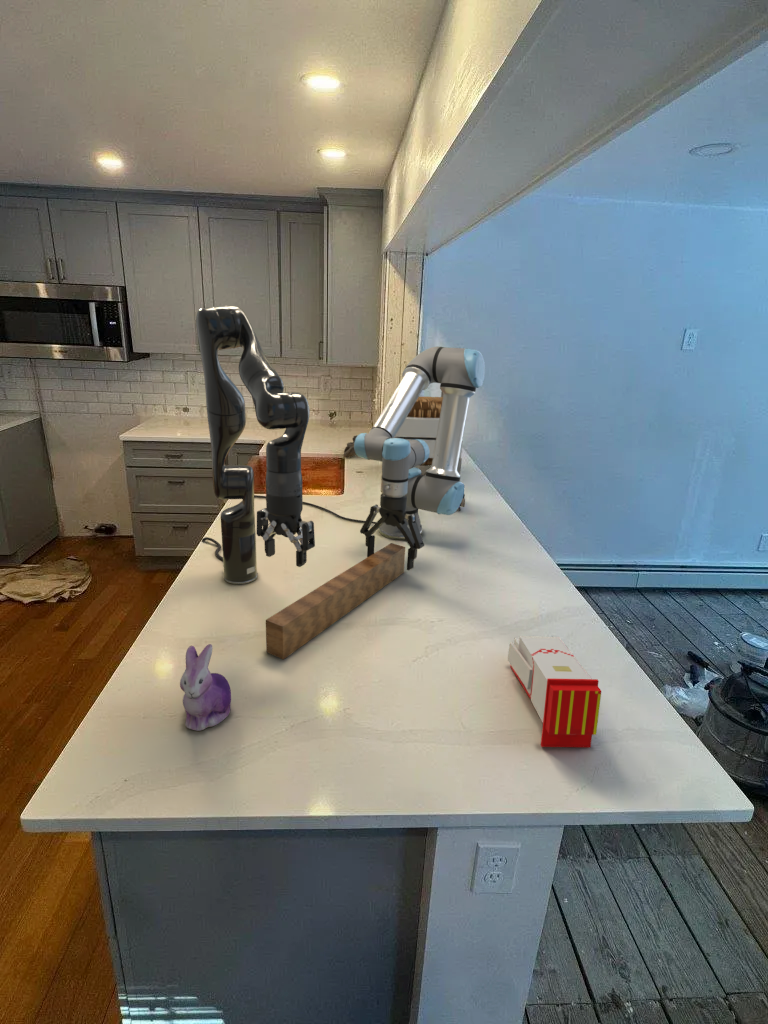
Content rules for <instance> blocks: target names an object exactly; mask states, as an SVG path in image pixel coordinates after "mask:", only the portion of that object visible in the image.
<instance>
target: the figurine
mask: <svg viewBox="0 0 768 1024" xmlns="http://www.w3.org/2000/svg"><path fill="white" fill-rule="evenodd" d="M213 649H214V648H213V645H212V644H211V643H208V644H206V646H204V648H203V649H202V651H201V652H200V653H199V655H198V651H197V650H196V647H195V646H194V645H190V646H188V647H187V648H186V652H185V659H184V660H185V669H184V672H183V673H182V675H181V678H180V681H179V687H180V690H181V691H182V692H183V693H184V694H183V697H182V705H183V708H184V711H185V714H186V718H185V722H184V723H185V727H186V728H187V729H189V730H194V731H198V732H199V731H204V730H205V729H207V728H213V727H215V726H217V725H219V724H220V723H221V722H222V721H224V720H225V719H227V717H229V715H230V712H231V705H232V689H231V686H230V683H229V681H228V679H227V678H226V677H225V676H224V675H222V674H221V673H219V672H218V673H217V672H212V673H211V671H210V669H209V665H210V662H211V658H212V654H213Z"/></svg>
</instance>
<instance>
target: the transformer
mask: <svg viewBox="0 0 768 1024" xmlns="http://www.w3.org/2000/svg"><path fill="white" fill-rule="evenodd" d="M397 387H398V385H397V386H396V388H397ZM440 393H441V394H440V396H419V397H418V399H417V400H416V402H415V404H414V405H413V407H412V409H411V411H410V412H409V414H408V416H407V417H406V419H405V421H404V422H403V424H402V426H401V428H400V429H399V431H398V433H397V434H396V436H395V438H401V439H406V440H408V441H411V440H413V439H420V440H423V441H424V442H426V443H427V445H428V447H429V451H430V454H429V457H428V459H427V460H426V461H425V462H424V463H422V464H421V465H419V466H418V467H431V466H432V460H433V454H434V448H435V442H436V436H437V430H438V424H439V418H440V412H441V406H442V400H443V392H442V391H441V392H440ZM463 442H464V441H463V440H462V444H461V450H460V456H459V462H458V467H457V472H458V473H459V475H460V476H461V472H462V461H463V460H462V453H463Z"/></svg>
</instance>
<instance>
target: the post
mask: <svg viewBox="0 0 768 1024" xmlns="http://www.w3.org/2000/svg"><path fill="white" fill-rule="evenodd" d="M405 559H406V546H404V545H400V544H396V543H394V542H390V543H388V544H387V545H385V546H384V547H382V548H381V549H379V550H377V551H376V552H374V554H372V555H371V556H369V557H367V556H366V557H365V558H364V559H362V560H361V561H359V562H358V563H356V564H354V565H353V566H351V567H349V568H348V569H346V570H344V571H342V572H341V573H339V575H337V576H335V577H333V578H332V579H330V580H328V581H326V582H325V583H324V584H322V585H320V586H319V587H317V588H315V589H313V590H311V591H310V592H309V593H307V594H305V595H304V596H302V597H300V598H299V599H297V600H296V601H294V602H292V603H291V604H289V605H288V606H285V607H284V608H283V609H281V610H279V611H278V612H276V613H274V614H273V615H271V616H270V617H268V618H266V619H265V641H266V642H265V643H266V645H265V646H266V653H267V654H269V655H272V656H274V657H277V658H279V659H281V660H285V659H286V658H288V657H289V656H291V655H292V654H293V653H295V652H296V651H298V650H299V649H300V648H302V647H303V646H304V645H306V644H308V642H310V641H311V640H313V639H314V638H315V637H317V636H318V635H320V634H321V633H323V632H324V631H325V630H327V629H328V628H329V627H331V626H332V625H333V624H335V623H336V622H338V621H339V620H340V619H342V618H343V617H345V616H346V615H348V613H350V612H351V611H353V610H355V609H356V608H357V607H358V606H360V605H361V604H362V603H364V602H365V601H366V600H368V599H369V598H371V597H372V596H374V595H375V594H377V593H378V592H379V591H381V590H382V589H383V588H384V587H386V586H387V585H389V584H390V583H392V582H393V581H394V580H396V579H397V578H398V577H400V576H401V575H402V574H404V573H405V562H406V561H405Z"/></svg>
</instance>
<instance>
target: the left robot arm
mask: <svg viewBox="0 0 768 1024" xmlns="http://www.w3.org/2000/svg"><path fill="white" fill-rule="evenodd" d="M195 327H196V335H197V341H198V346H199V352H200V353H199V354H200V357H201V363H202V370H203V377H204V388H205V389H204V390H205V391H204V392H205V404H206V405H205V408H206V415H207V416H206V417H207V425H208V431H209V432H208V433H209V438H210V446H211V447H210V449H211V474H212V489H213V494H214V495H215V497H216V498H217V499H219V500H241V501H240V502H239V503H237V504H235V505H232V506H230V507H227V508H225V509H224V510H222V511H221V513H220V530H221V531H220V534H221V544H220V543H219V542H218V541H217V540H215V539H213V538H212V537H209V536H207V537H206V536H205V537H203V538H202V539H201V541H202V542H206V541H209V542H212V543H214V544H215V545H216V546H217V548H216V549H215V551H214V554H215V556H216V557H217V558H218V559H219V560H221V561H222V565H223V580H224V581H225V582H226V583H228V584H231V585H245V584H251V583H252V582H254V581H256V580H257V579H258V563H257V537H256V536H258V537H261V538H262V540H263V542H264V553H265V556H266V557H268V558H271V557H273V556H274V555H275V554H276V539H275V538H274V537H276V535H277V536H283V537H284V538H288V540H289V542H290V543H291V544H293V545H294V548H295V549H296V551H295V567H298V568H301V567H303V566H305V564H306V563H307V561H308V559H307V557H308V555H307V554H308V553H307V551H309V550H311V549H314V548H315V547H316V539H315V523H314V521H313V520H308V521H305V520H303V519H302V515H301V514H302V511H303V507H304V506H303V505H304V504H303V502H304V501H303V499H304V498H303V475H302V448H303V443H304V440H305V435H306V431H307V428H308V425H309V420H310V412H311V411H310V410H311V409H310V405H309V401H308V399H307V397H306V396H305V395H304V394H303V393H301V392H299V391H291V392H289V391H288V392H284V391H285V386H284V381H283V380H282V378H281V376H280V375H279V373H278V372H277V371H276V369H275V368H274V366H273V365H272V364H271V362H270V361H269V359H268V358H267V356H266V354H265V352H264V350H263V348H262V345H261V343H260V340H259V338H258V336H257V334H256V332H255V330H254V328H253V325H252V324H251V321H250V319H249V317H248V315H247V314H246V313H245V311H244V310H243V309H242V308H241V307H240V306H237V305H223V306H211V307H210V306H209V307H201V308H200V309H198V310H197V313H196V316H195ZM237 348H242V349H243V351H242V353H241V356H240V359H239V362H238V374H239V377H240V380H241V382H242V384H243V385H244V387H245V388H246V389H247V391H248V393H249V394H250V396H251V399H252V402H253V406H254V411H255V417H256V421H257V423H259V425H260V426H261V427H263V428H264V429H267V430H271V431H273V430H274V431H275V430H283V429H285V430H284V432H283V434H282V435H281V436H279V437H276V438H274V439H272V440H270V441H268V442H267V443H266V446H265V461H266V462H265V463H266V473H265V496H266V498H265V504H266V505H265V506H266V507H265V508H262V509H259V510H257V511H256V514H255V497H254V495H255V486H256V485H255V484H256V483H255V472H254V469H253V467H252V466H251V465H249V464H240V465H239V464H225V463H226V460H227V457H228V455H229V454H230V451H231V449H232V448H233V446H234V445H235V444H236V442H237V441H238V440H239V439H240V437H241V435H242V433H243V432H244V430H245V428H246V424H247V417H246V416H247V415H246V414H247V413H246V402H245V398H244V395H243V394H242V392H241V391H240V389H239V388H238V387H237V385H236V384H235V383H234V382H233V380H231V378H230V377H229V376H228V374H227V373H226V372H225V370H224V368H223V366H222V365H221V363H220V360H219V354H218V352H219V351H222V350H229V349H230V350H231V349H237ZM269 523H270V524H269ZM268 524H269V525H268ZM295 535H296V536H295ZM221 549H222V556H221V555H220V553H219V551H220V550H221Z"/></svg>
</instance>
